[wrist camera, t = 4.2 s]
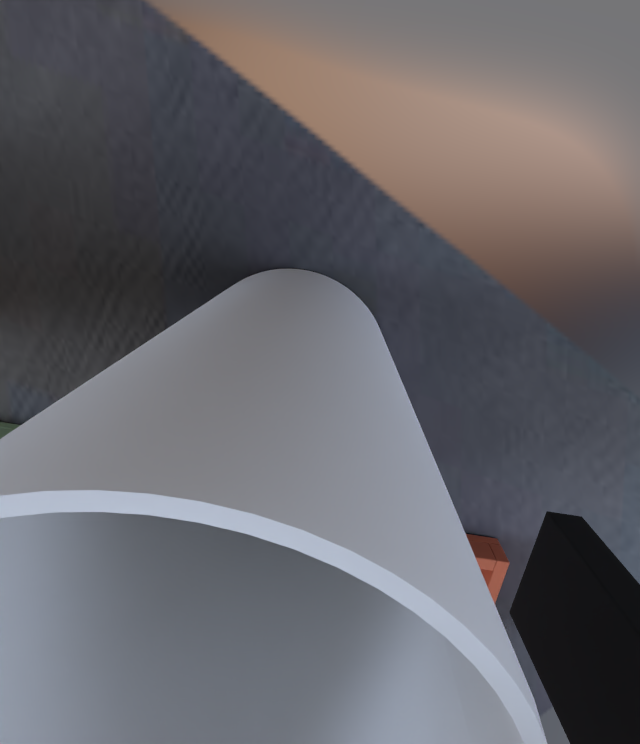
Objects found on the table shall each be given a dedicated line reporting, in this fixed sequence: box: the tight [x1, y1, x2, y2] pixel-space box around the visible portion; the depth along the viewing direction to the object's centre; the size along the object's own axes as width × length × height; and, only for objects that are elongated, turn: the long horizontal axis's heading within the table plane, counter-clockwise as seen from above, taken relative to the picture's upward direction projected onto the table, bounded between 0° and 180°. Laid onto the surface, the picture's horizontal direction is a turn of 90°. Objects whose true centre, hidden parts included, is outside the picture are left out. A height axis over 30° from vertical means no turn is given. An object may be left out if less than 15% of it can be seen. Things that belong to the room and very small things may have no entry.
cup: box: [0, 269, 547, 744], centre depth 12 cm, size 8×8×16 cm
